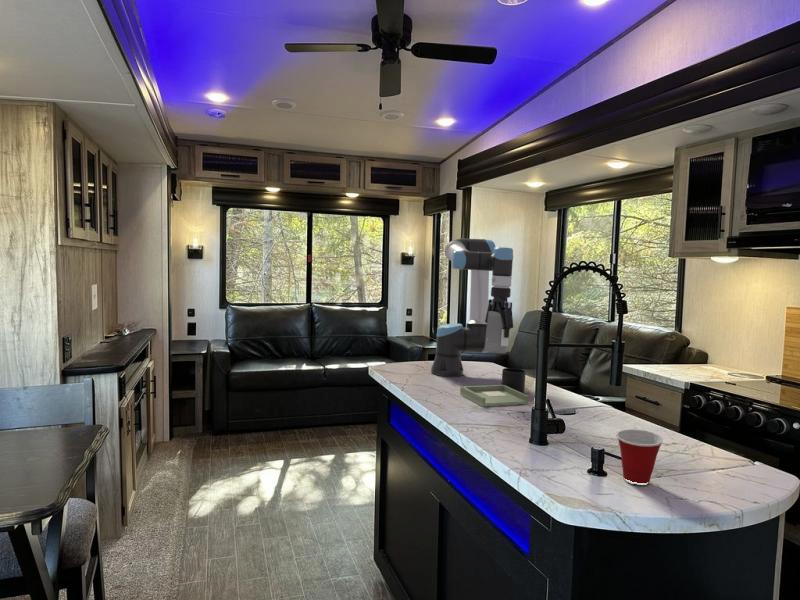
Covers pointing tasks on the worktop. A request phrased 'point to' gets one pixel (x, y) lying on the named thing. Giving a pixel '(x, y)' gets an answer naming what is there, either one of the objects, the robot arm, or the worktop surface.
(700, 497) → the worktop surface
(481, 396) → the sage green tray
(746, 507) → the worktop surface
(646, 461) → the plastic cup
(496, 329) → the skincare box
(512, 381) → the mug
